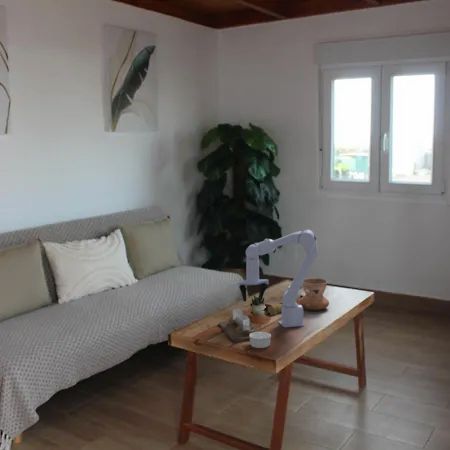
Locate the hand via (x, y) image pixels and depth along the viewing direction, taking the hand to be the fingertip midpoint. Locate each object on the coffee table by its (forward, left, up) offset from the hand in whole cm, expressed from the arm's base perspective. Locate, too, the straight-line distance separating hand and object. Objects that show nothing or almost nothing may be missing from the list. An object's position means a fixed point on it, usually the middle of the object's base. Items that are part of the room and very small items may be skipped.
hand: (252, 300), depth 277 cm
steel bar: (+9, +11, -7) cm, 16 cm away
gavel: (-12, -19, -11) cm, 25 cm away
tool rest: (+9, +11, -10) cm, 18 cm away
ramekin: (+6, +29, -11) cm, 32 cm away
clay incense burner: (-36, -14, -11) cm, 40 cm away
